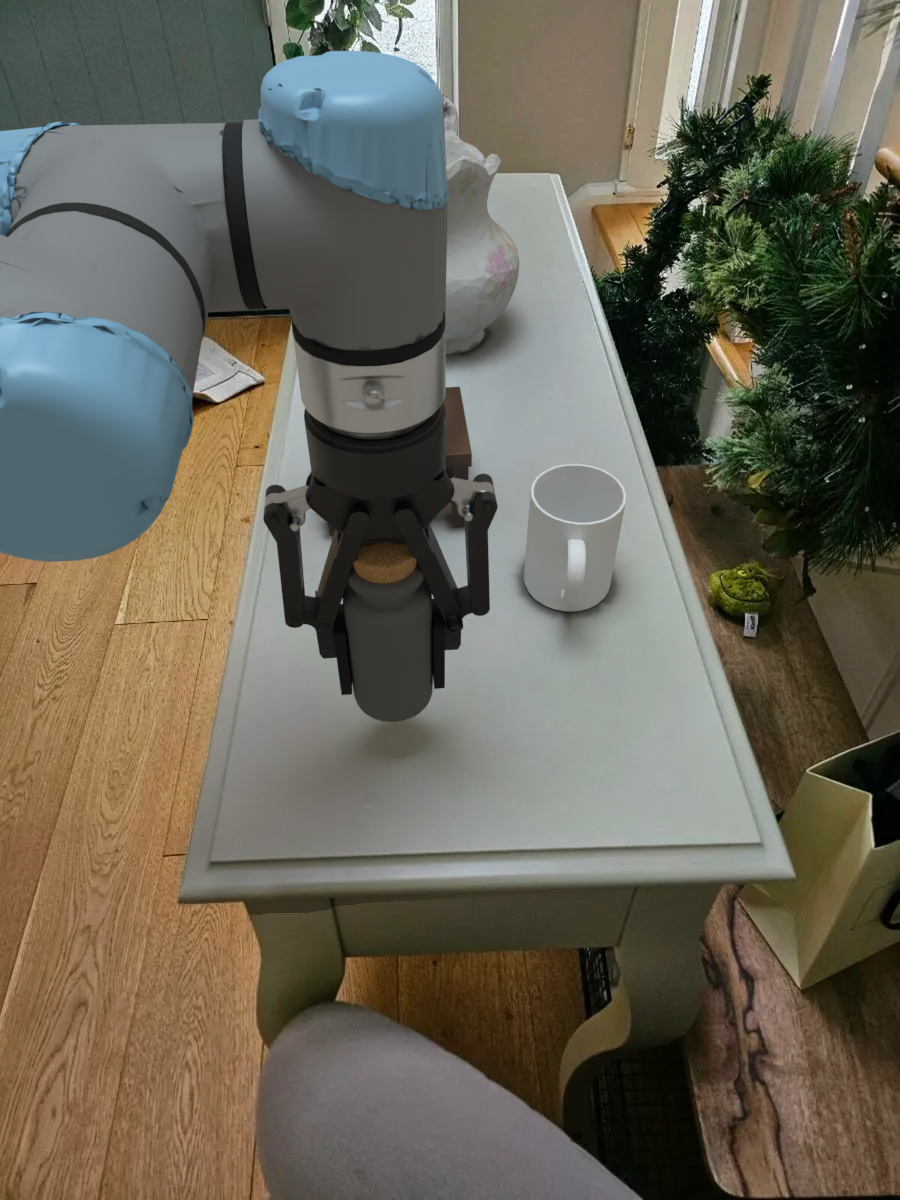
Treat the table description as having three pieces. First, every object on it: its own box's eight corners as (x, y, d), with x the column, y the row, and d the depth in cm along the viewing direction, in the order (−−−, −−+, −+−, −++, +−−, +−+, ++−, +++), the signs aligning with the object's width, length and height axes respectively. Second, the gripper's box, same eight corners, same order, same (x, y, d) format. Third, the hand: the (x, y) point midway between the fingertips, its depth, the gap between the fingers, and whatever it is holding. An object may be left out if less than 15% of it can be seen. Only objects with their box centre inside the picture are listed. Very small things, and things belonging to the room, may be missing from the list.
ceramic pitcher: (366, 300, 118) (332, 101, 100) (506, 282, 118) (499, 79, 100) (372, 388, 103) (334, 172, 85) (532, 367, 103) (529, 147, 85)
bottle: (384, 737, 60) (372, 588, 49) (337, 685, 63) (316, 534, 52) (449, 695, 63) (451, 545, 52) (401, 648, 66) (393, 496, 55)
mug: (525, 549, 82) (532, 460, 74) (609, 555, 81) (625, 466, 73) (519, 646, 73) (526, 557, 66) (612, 653, 73) (630, 564, 65)
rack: (326, 537, 83) (315, 462, 76) (327, 467, 90) (317, 394, 84) (470, 528, 84) (471, 453, 77) (459, 459, 91) (459, 386, 85)
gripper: (183, 453, 42) (256, 728, 59) (564, 435, 43) (529, 709, 60) (200, 371, 47) (263, 645, 64) (540, 356, 48) (514, 629, 65)
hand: (392, 676), depth 62 cm, fingers closed on bottle, 6 cm apart
